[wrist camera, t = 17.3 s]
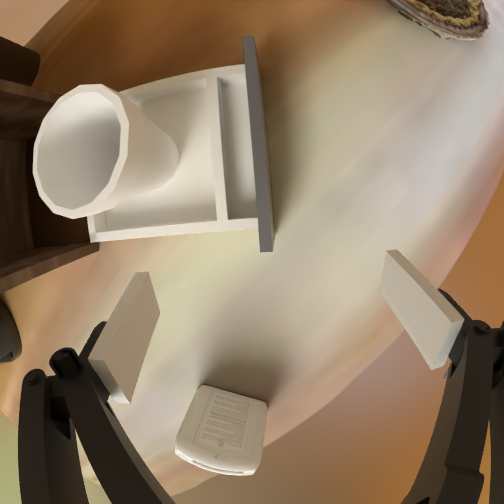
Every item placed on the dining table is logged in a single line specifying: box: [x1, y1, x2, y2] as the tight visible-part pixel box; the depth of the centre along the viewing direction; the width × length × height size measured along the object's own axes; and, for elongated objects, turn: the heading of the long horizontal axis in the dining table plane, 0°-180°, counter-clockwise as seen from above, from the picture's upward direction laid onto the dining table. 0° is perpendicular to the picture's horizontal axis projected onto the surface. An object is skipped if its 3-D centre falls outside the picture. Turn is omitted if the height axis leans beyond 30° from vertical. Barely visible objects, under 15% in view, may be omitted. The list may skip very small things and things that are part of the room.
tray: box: [87, 36, 275, 252], centre depth 25 cm, size 20×19×7 cm
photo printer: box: [175, 385, 267, 475], centre depth 29 cm, size 10×4×12 cm, turn 75°
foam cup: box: [33, 84, 179, 219], centre depth 21 cm, size 10×9×13 cm
